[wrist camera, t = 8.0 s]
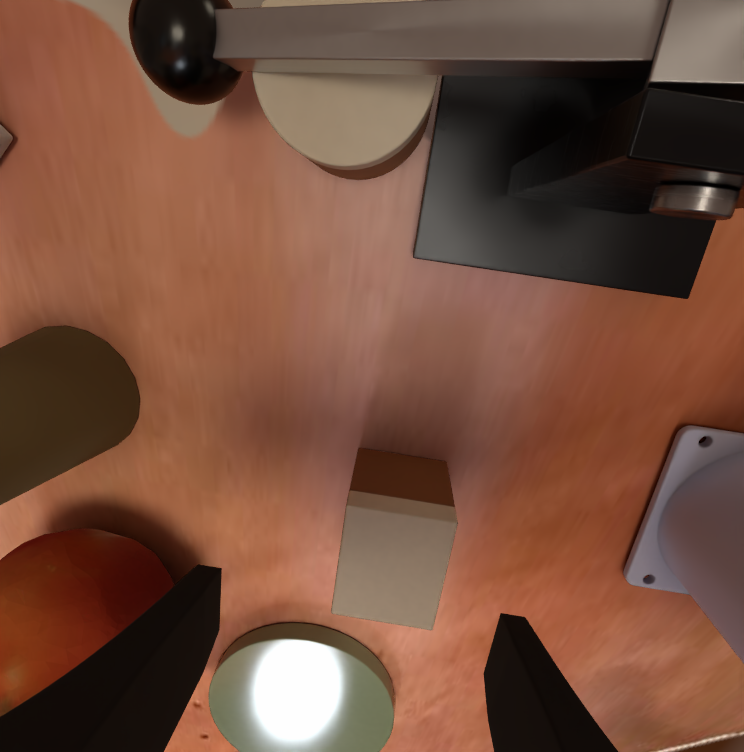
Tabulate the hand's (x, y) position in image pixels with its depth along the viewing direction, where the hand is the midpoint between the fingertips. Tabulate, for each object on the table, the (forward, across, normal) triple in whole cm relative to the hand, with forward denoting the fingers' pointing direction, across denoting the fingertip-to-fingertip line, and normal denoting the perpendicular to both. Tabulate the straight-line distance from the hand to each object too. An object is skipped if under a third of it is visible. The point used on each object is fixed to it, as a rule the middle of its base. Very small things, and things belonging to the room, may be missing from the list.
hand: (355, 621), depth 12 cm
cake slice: (+9, -1, +2) cm, 10 cm away
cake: (+9, +3, -14) cm, 17 cm away
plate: (+9, +2, +15) cm, 18 cm away
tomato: (+10, +12, +9) cm, 18 cm away
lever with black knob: (+5, 0, -14) cm, 14 cm away
